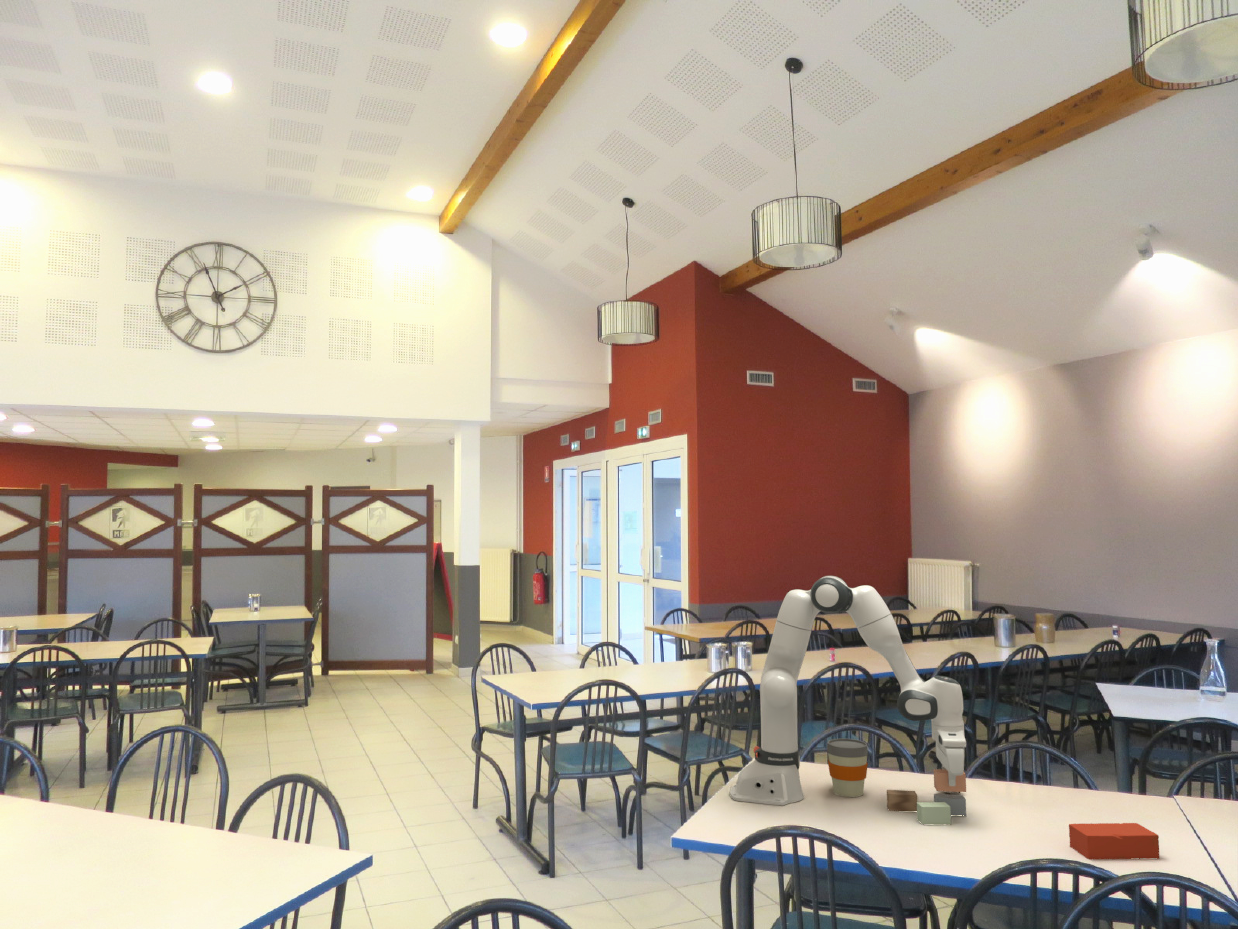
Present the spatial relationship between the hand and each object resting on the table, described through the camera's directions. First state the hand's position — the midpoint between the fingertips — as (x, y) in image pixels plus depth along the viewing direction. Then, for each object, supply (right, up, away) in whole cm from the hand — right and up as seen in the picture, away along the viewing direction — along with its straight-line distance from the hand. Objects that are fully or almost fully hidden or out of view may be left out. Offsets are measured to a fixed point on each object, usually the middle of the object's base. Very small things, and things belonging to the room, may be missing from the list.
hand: (949, 782), depth 248 cm
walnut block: (-13, -9, +3) cm, 16 cm away
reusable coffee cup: (-24, -11, +20) cm, 33 cm away
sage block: (-7, -9, -8) cm, 13 cm away
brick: (+30, -7, -30) cm, 43 cm away
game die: (+7, -10, +17) cm, 21 cm away
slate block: (0, -9, -1) cm, 9 cm away
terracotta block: (0, -2, 0) cm, 2 cm away
